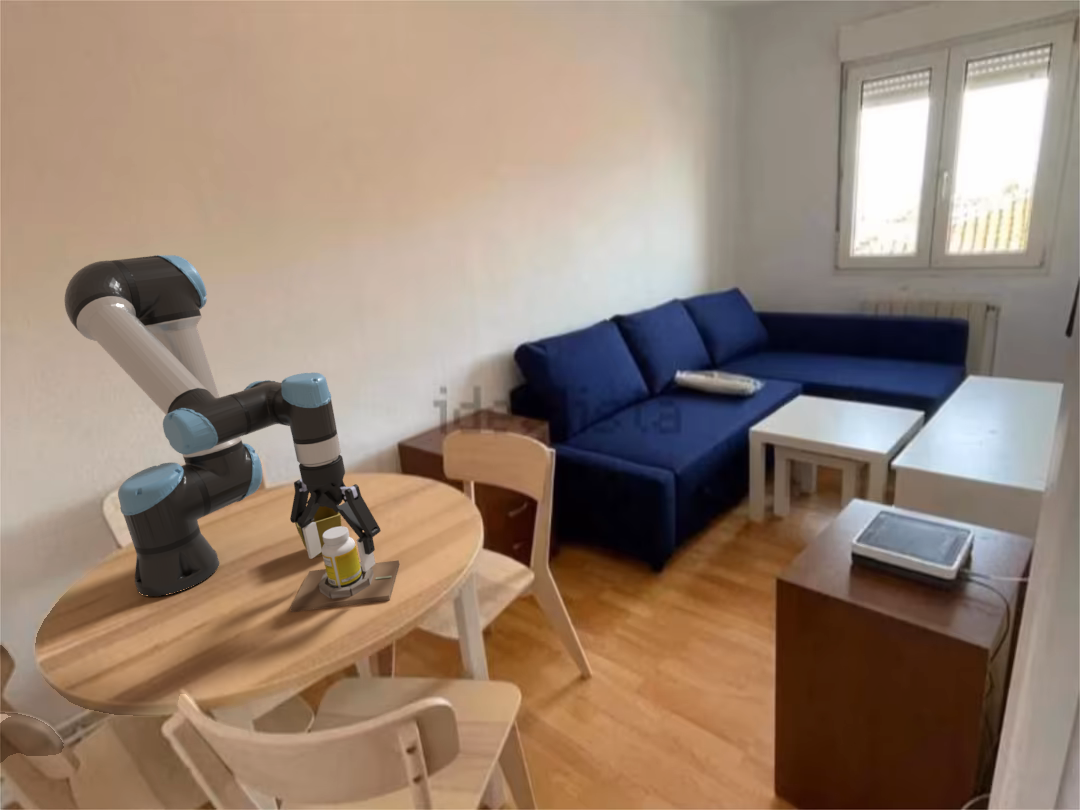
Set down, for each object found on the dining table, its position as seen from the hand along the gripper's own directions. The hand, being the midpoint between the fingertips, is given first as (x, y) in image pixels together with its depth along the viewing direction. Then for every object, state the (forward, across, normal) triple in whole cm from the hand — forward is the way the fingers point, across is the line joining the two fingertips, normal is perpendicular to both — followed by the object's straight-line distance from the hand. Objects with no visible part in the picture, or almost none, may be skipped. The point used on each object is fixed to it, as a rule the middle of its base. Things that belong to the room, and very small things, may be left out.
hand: (341, 561), depth 114 cm
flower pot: (+6, +15, -9) cm, 19 cm away
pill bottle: (+5, 0, 0) cm, 5 cm away
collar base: (+6, 0, 0) cm, 6 cm away
